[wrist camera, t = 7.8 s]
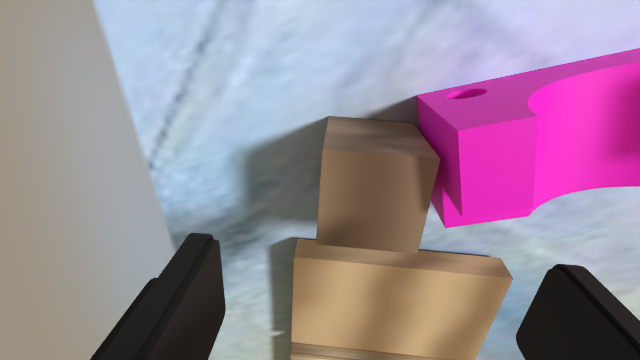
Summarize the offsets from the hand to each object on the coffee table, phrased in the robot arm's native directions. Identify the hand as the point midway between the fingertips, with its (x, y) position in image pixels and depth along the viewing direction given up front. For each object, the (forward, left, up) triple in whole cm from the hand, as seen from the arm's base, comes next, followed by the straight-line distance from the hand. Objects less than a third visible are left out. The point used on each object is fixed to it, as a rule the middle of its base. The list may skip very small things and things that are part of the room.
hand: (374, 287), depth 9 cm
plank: (-3, +16, -10) cm, 19 cm away
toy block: (-11, -3, -12) cm, 16 cm away
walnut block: (0, 0, -12) cm, 12 cm away
